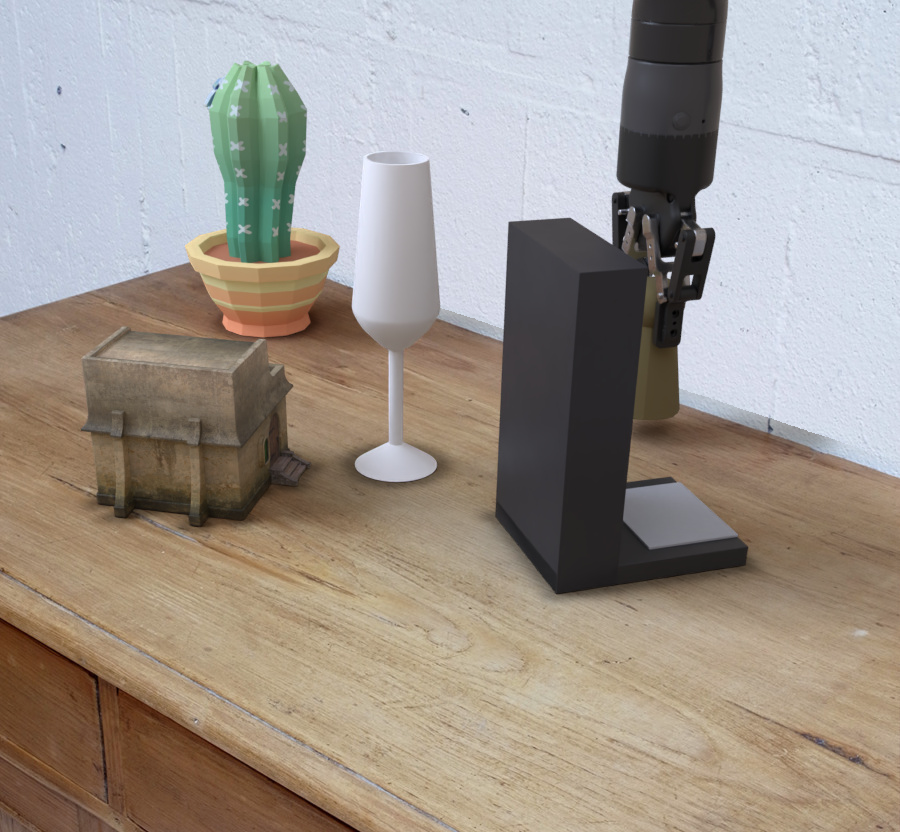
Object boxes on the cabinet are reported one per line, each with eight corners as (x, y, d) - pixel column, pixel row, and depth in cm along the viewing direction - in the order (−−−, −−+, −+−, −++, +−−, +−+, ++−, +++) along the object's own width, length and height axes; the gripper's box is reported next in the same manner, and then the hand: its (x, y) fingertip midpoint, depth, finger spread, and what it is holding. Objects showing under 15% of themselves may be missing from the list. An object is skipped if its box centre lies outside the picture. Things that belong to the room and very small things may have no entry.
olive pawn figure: (622, 389, 116) (632, 265, 110) (688, 401, 113) (702, 275, 108) (598, 412, 111) (607, 284, 105) (666, 425, 109) (679, 295, 103)
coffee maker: (669, 493, 103) (702, 208, 91) (745, 565, 93) (794, 256, 82) (495, 516, 98) (508, 221, 87) (556, 594, 89) (579, 272, 78)
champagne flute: (371, 442, 110) (369, 144, 98) (448, 454, 108) (455, 152, 96) (341, 474, 104) (334, 163, 92) (421, 487, 103) (425, 171, 90)
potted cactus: (342, 299, 143) (336, 52, 130) (341, 348, 129) (335, 78, 117) (198, 299, 142) (179, 50, 129) (182, 348, 128) (159, 76, 116)
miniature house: (263, 533, 95) (254, 385, 89) (82, 512, 98) (62, 366, 92) (322, 451, 108) (317, 316, 102) (160, 434, 110) (147, 301, 104)
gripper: (760, 136, 95) (732, 359, 104) (671, 102, 107) (653, 305, 116) (667, 142, 93) (647, 369, 102) (586, 106, 105) (574, 312, 114)
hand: (650, 333), depth 109 cm, fingers closed on olive pawn figure, 5 cm apart
